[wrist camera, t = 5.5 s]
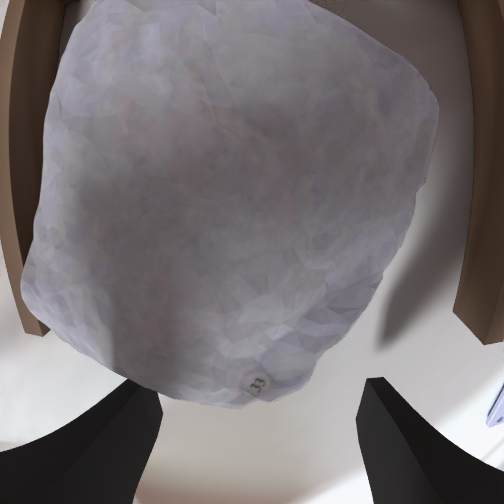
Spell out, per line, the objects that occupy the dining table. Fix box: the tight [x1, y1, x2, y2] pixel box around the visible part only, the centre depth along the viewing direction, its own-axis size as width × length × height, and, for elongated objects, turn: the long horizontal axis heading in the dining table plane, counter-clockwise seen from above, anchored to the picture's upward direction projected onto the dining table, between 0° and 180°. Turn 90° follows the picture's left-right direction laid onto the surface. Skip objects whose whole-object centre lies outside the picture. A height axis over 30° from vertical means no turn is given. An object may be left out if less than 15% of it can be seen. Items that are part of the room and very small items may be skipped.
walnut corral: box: [0, 0, 504, 345], centre depth 7 cm, size 17×14×2 cm
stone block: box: [20, 0, 440, 409], centre depth 8 cm, size 12×5×10 cm
